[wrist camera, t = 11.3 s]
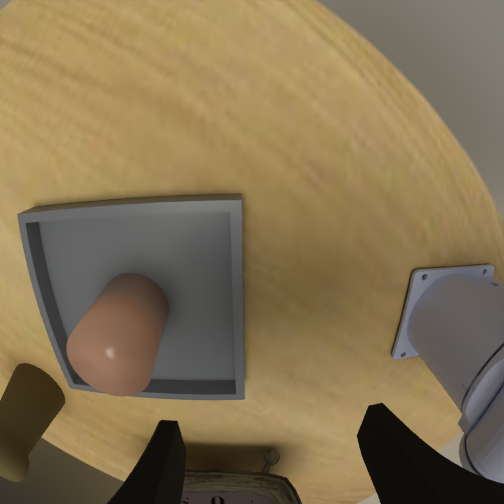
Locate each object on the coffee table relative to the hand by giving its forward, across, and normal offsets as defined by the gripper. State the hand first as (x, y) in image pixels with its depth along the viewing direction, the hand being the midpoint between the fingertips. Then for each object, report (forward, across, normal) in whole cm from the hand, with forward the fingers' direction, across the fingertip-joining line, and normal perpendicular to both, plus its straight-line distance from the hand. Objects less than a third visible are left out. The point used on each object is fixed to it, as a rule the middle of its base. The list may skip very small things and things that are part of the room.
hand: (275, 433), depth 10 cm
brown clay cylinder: (+10, +8, 0) cm, 13 cm away
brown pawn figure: (+11, +21, +10) cm, 25 cm away
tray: (+10, +8, 0) cm, 13 cm away
